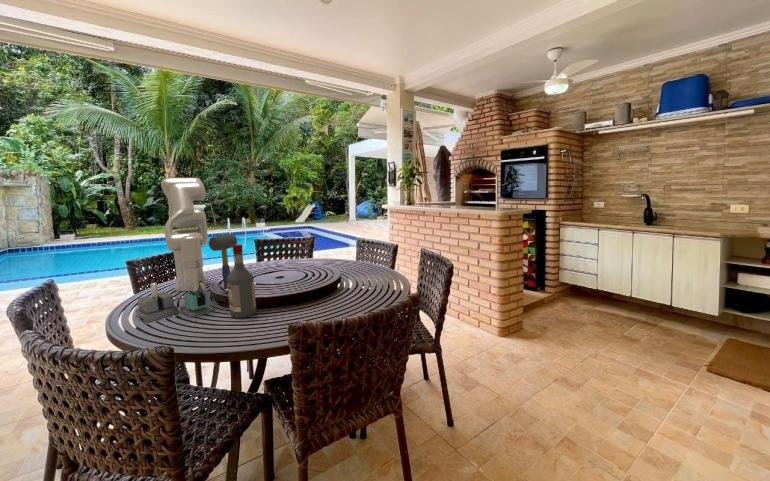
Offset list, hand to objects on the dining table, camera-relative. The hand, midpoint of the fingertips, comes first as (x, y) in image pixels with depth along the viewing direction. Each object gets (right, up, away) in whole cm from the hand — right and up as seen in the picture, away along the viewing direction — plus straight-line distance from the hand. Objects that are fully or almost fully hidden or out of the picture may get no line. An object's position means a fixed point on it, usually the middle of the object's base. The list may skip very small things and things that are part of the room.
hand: (197, 303), depth 154 cm
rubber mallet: (+1, +1, +27) cm, 27 cm away
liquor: (+21, -4, -3) cm, 22 cm away
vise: (-15, -4, 0) cm, 15 cm away
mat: (0, -4, +1) cm, 4 cm away
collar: (0, -1, 0) cm, 1 cm away
